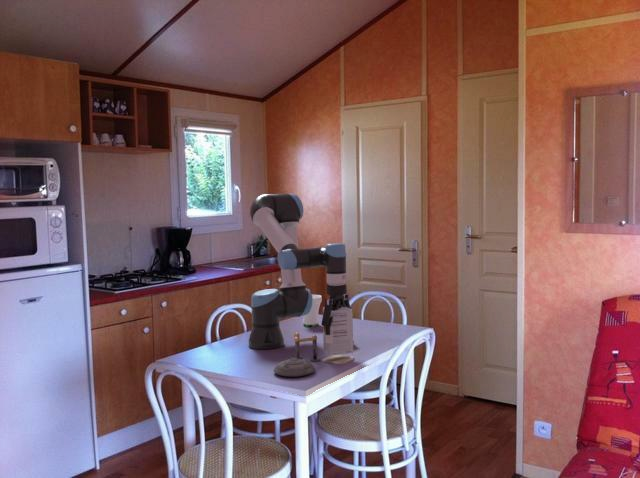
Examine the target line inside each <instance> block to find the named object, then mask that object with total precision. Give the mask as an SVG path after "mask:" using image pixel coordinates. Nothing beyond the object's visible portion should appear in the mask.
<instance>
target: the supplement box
mask: <svg viewBox="0 0 640 478" xmlns="http://www.w3.org/2000/svg"><path fill="white" fill-rule="evenodd" d="M324 308H325V306H323V307H322V314H323V313H324ZM353 313H354V312H353V309H352V308H351V309H350V308H348V307H346V306H345V307H341V308H339V309H338V310H335V311H332V310H331V315H330V317H331V316H332V315H333V321H332V324H331V326H332V330H333V343H332V344H330V343H326V339H325V326H322V327H323V328H322V333H323V340H322V341H323V350H324V351H325V352H326V353H327V354H329V356H331V355H346V354H353V353H354V344H353V341H354V330H353V329H354V328H353V327H354V326H353V325H354V323H353V321H354V320H353V316H354V315H353Z"/></svg>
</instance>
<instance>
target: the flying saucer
mask: <svg viewBox="0 0 640 478" xmlns="http://www.w3.org/2000/svg"><path fill="white" fill-rule="evenodd" d="M315 370H316V368H315V366H314V364H312V362H310V361H308V360H305V359H303V358H301V359H298V358H293V357H292V358H289V359H285V360H283V361H280V362H279V363H277V365H276V366H275V367H274V368H273V372H274V373H275V374H277V375H280V376H282V377H289V378H290V377H291V378H292V377H293V378H294V377H296V378H297V377H303V376H307V375H310V374H312V373H313V372H315Z"/></svg>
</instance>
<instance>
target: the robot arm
mask: <svg viewBox="0 0 640 478" xmlns="http://www.w3.org/2000/svg"><path fill="white" fill-rule="evenodd" d="M249 215H250V220H251V221H252V222H253V224H254V225H255V226H256V227H259V228H260V229H261V231H262V233H263V234H264V236H265V237H266V238H267V239H268V241H269V243H270V244H271V246H272V247H273V248H274V250H275V251H276V252H277V263H278V267H279V268H280V272H281V273H280V274H281V283H282V284H281V285H280V286H279V288H278V289H279V290H278V289H277V288H269V289H267V288H265V289H261V290H258V291H255V292H254V293H252V295H251V300H250V301H251V302H250V306H251V327H252V328H251V331H250V335H249V339H248V347H249V348H251V349H255V350H272V349H278V348H281V347H283V346H285V339H284V336H283V332H282V329H281V327H280V325H281V324H280V320H281V319H282V320H283V319H289V318H290V319H291V318H300V317H303V316H304V315H307V314H308V313H309V312H310V310H311V308H312V302H313V299H312V295H313V294H312V291H311V290H310V289H309V288H307V285H306V284H305V282H303V279H302V270H301V269H306V268H307V269H308V268H319V267H320V268H321V267H325V268H326V270H325V271H326V273H325V274H326V284H327V285H326V294H327V295H329V298H326V299H324V300H325V301H324V307H325V308H324V313H323V312H322V320H321V326H322V327H323V326H325V339H326V343H330V344H332V343H333V330H332V326H331V324H332V321H333V315H332V316H331V317H330V315H331V310H332V311H335V310H338V309H339V308H341V307H345V306H346V307H348V308H350V309H352V307H351V304H350V300H349V294H347V293H348V292H347V284H346V283H347V278H348V276H347V252H346V244H344V243H342V242H341V243H339V242H334V243H331V242H330V243H327V244H326V245H325V247H324V246H314V247H307V248H299V240H298V239H299V238H298V231H297V226H298V225H299V224H300V220H301V219H302V218H303V216H304V206H303V202H302V199H300V197H299V196H298V195H297V194H294V193H264V194H261V195H259V196H257V197H256V198H255V199H254V200H253V201H252V202H251V205H250V208H249Z"/></svg>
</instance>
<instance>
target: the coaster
mask: <svg viewBox="0 0 640 478" xmlns="http://www.w3.org/2000/svg"><path fill="white" fill-rule="evenodd" d="M353 360H355V356H350V355H345V354H339V355H329V356H327V357H325V358H322V360H321V362H322V363H328V364H336V365H341V366H343V365H345V364H347V363H349V362H352V361H353Z"/></svg>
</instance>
